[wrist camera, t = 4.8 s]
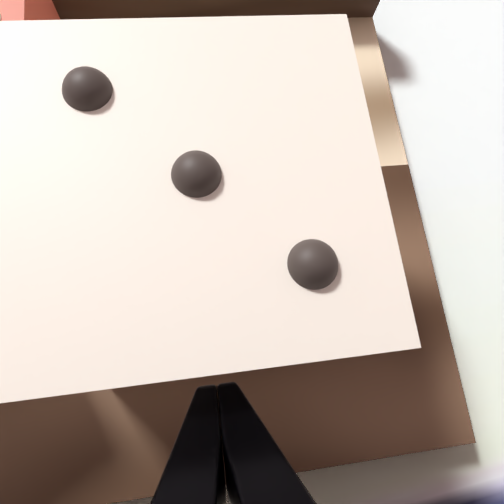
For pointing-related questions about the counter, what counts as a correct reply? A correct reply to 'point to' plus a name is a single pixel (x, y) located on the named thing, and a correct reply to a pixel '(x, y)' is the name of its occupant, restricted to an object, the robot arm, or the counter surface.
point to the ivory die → (188, 202)
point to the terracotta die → (27, 10)
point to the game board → (261, 380)
